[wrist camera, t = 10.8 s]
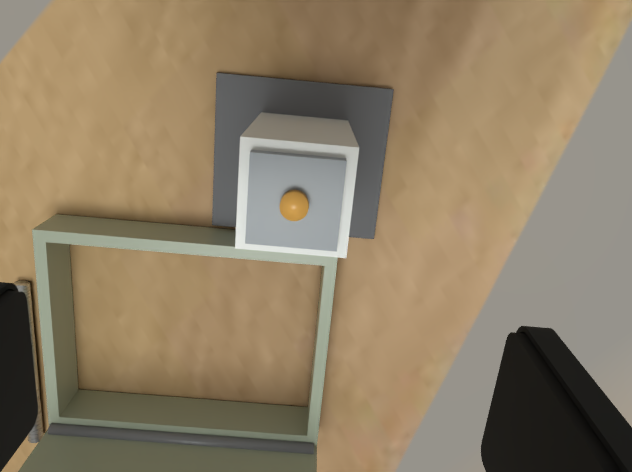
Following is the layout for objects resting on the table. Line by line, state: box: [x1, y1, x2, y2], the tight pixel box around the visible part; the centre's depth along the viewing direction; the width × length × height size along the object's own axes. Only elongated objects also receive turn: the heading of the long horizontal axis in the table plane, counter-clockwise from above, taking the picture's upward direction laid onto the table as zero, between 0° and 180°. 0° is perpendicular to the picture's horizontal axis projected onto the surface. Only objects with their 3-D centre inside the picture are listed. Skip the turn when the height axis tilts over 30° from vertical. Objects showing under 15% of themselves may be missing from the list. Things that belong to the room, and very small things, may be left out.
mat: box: [212, 73, 394, 239], centre depth 32 cm, size 9×10×1 cm
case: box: [18, 214, 338, 472], centre depth 29 cm, size 15×17×14 cm
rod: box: [13, 281, 44, 443], centre depth 37 cm, size 12×1×1 cm, turn 175°
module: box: [235, 112, 359, 258], centre depth 27 cm, size 5×5×10 cm
